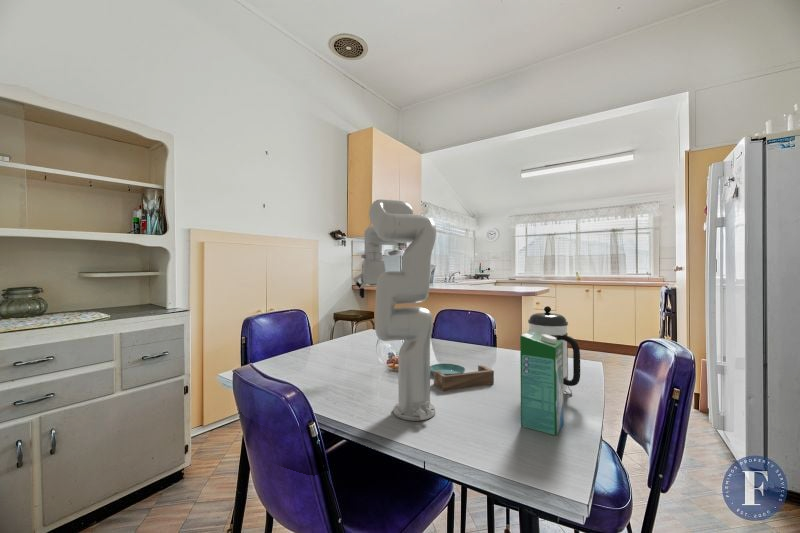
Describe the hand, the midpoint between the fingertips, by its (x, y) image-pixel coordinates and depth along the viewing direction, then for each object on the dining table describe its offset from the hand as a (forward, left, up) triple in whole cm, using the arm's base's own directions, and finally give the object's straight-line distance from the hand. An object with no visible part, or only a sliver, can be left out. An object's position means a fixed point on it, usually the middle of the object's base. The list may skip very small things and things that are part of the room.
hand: (373, 297), depth 142 cm
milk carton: (-65, -30, -31) cm, 78 cm away
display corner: (-29, -27, -31) cm, 50 cm away
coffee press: (-48, -51, -31) cm, 76 cm away
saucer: (-16, -27, -32) cm, 45 cm away
